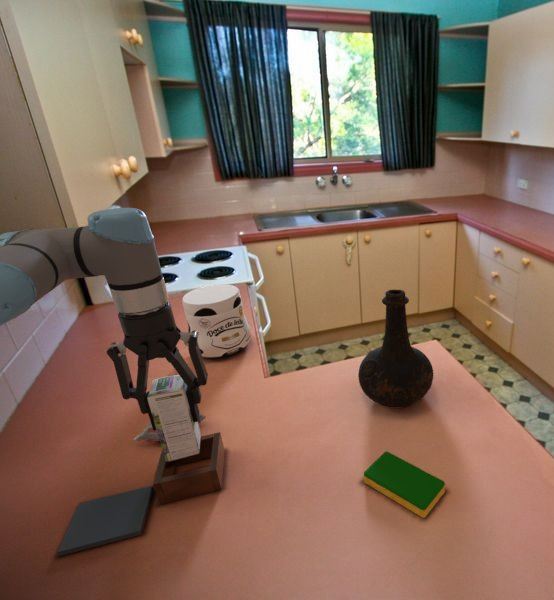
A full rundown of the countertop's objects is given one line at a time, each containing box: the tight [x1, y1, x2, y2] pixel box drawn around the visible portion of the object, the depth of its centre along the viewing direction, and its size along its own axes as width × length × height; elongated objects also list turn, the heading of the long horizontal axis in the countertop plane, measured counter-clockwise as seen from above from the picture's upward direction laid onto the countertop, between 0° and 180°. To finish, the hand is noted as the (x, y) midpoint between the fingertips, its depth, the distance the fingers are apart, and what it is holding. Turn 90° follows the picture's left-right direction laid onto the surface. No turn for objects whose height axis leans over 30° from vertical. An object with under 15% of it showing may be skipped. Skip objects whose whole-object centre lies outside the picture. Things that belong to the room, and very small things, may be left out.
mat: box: [56, 485, 155, 557], centre depth 74 cm, size 12×10×1 cm
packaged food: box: [133, 413, 206, 442], centre depth 93 cm, size 9×12×5 cm
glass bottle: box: [357, 289, 434, 409], centre depth 99 cm, size 18×18×28 cm
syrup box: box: [147, 374, 202, 462], centre depth 77 cm, size 6×6×14 cm
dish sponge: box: [363, 451, 446, 519], centre depth 79 cm, size 7×14×2 cm, turn 53°
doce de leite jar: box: [181, 283, 252, 359], centre depth 126 cm, size 17×17×18 cm
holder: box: [152, 432, 226, 505], centre depth 82 cm, size 11×11×5 cm
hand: (177, 421), depth 78 cm, fingers closed on syrup box, 6 cm apart
